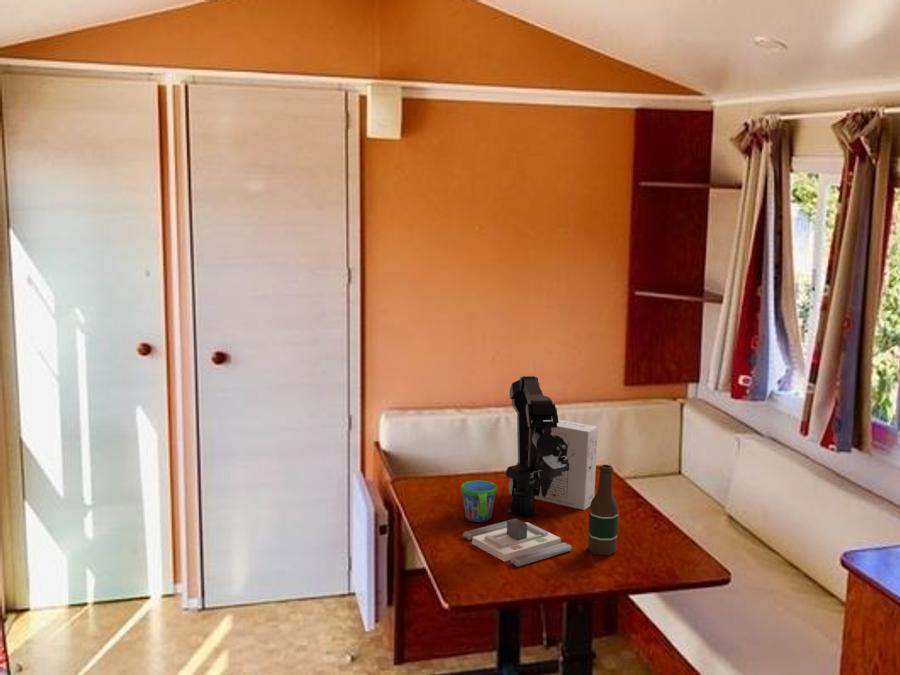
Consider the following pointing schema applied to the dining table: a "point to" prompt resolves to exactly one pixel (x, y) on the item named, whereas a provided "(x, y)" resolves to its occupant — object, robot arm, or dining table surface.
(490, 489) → the snack cup
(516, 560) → the grey twin rods
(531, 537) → the breaker panel
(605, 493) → the beer bottle
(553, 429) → the cereal box
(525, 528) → the switch knob
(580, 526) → the dining table surface
